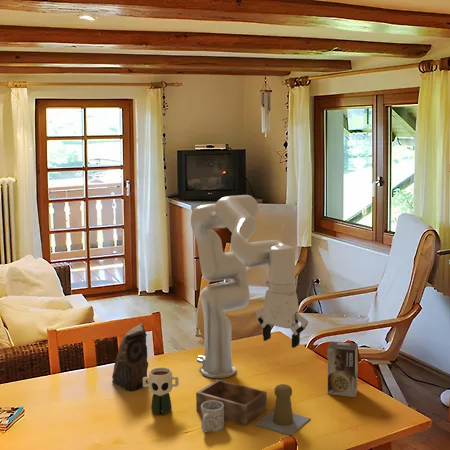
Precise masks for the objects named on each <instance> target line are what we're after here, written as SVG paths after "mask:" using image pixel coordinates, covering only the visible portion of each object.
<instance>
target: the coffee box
mask: <svg viewBox="0 0 450 450" xmlns="http://www.w3.org/2000/svg"><path fill="white" fill-rule="evenodd" d="M358 347H359V343H354V342H344V341H343V342H342V341H332V340H331V341H330V342H329V345H328V347H327V395H332V396H340V397H341V396H343V397H348V398H349V397H351V398H356V395H357V393H358V365H359V364H358V363H359V362H358V360H359V359H358V356H359V354H358V352H359V349H358Z"/></svg>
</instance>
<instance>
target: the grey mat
mask: <svg viewBox="0 0 450 450" xmlns="http://www.w3.org/2000/svg"><path fill="white" fill-rule="evenodd" d="M274 410H275V408H273V410H271V411H270V412H269V413H267V414H266V415H265V416H263V417H262V418H261V419H259V420H258V421H257V422H255V423H254V425H255V426H256V427H259V428H265V429H267V430H270V431H274V432H278V433H281V434H283V435H287V436H290V435H291V436H293V435H294V434H296V432H297V431H299V429H301V428H302V427H303V426H304V425H306V424H307V423H308V422H309V421H311V417H308V416H304V415H301V414H297V413H294V412H292V414H293V423H292V424H291V425H287V426H281V425H277V424H275V423H274V422H273V417H274ZM291 436H290V437H291Z"/></svg>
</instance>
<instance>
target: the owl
mask: <svg viewBox="0 0 450 450" xmlns="http://www.w3.org/2000/svg"><path fill="white" fill-rule="evenodd" d="M147 335H148V334H147V333H146V330H145V327H144V322H141V323H140V324H138V325H136V326H134V327H132V328H131V329H130V330H128V331H127V332H126V333H125V335H124V336H122V339H121V341H120V345H119V348H118V352H117V354H116V358H115V361H114V365H113V373H112V376H111V379H112V382H111V383H114V384H115V385H117V386H119V387H121V388H122V389H124V390H125V391H128V392H135V391H138V390H141V389H143V377H148V369H149V362H148V347H147ZM147 382H148V383H149V380H146V383H147Z"/></svg>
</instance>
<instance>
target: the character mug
mask: <svg viewBox="0 0 450 450" xmlns="http://www.w3.org/2000/svg"><path fill="white" fill-rule="evenodd" d="M146 380H147V381H148V383H147V382H146ZM174 380H175V381H174ZM173 381H174V383H173ZM179 383H180V382H179V377H178V376H177V375H176V376H173V371H172V369H171V368H170V367H167V366H165V367H164V366H157V367H154V368H151V369H150V370H149V371H148V376H147V377H143V386H142V387H144V388H149V389H148V390H149V392H150V393H151V394H152V398H151V409H150V410H151V412H152V413H154V414H157V415H159V414H160V412H161V414H162V415H164V414H168V413H169V412H171V410H172V409H173V408H172V407H173V406H172V400H171V395H170V393H171V392H172V389H173V387H174V388H176V387H179Z"/></svg>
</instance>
